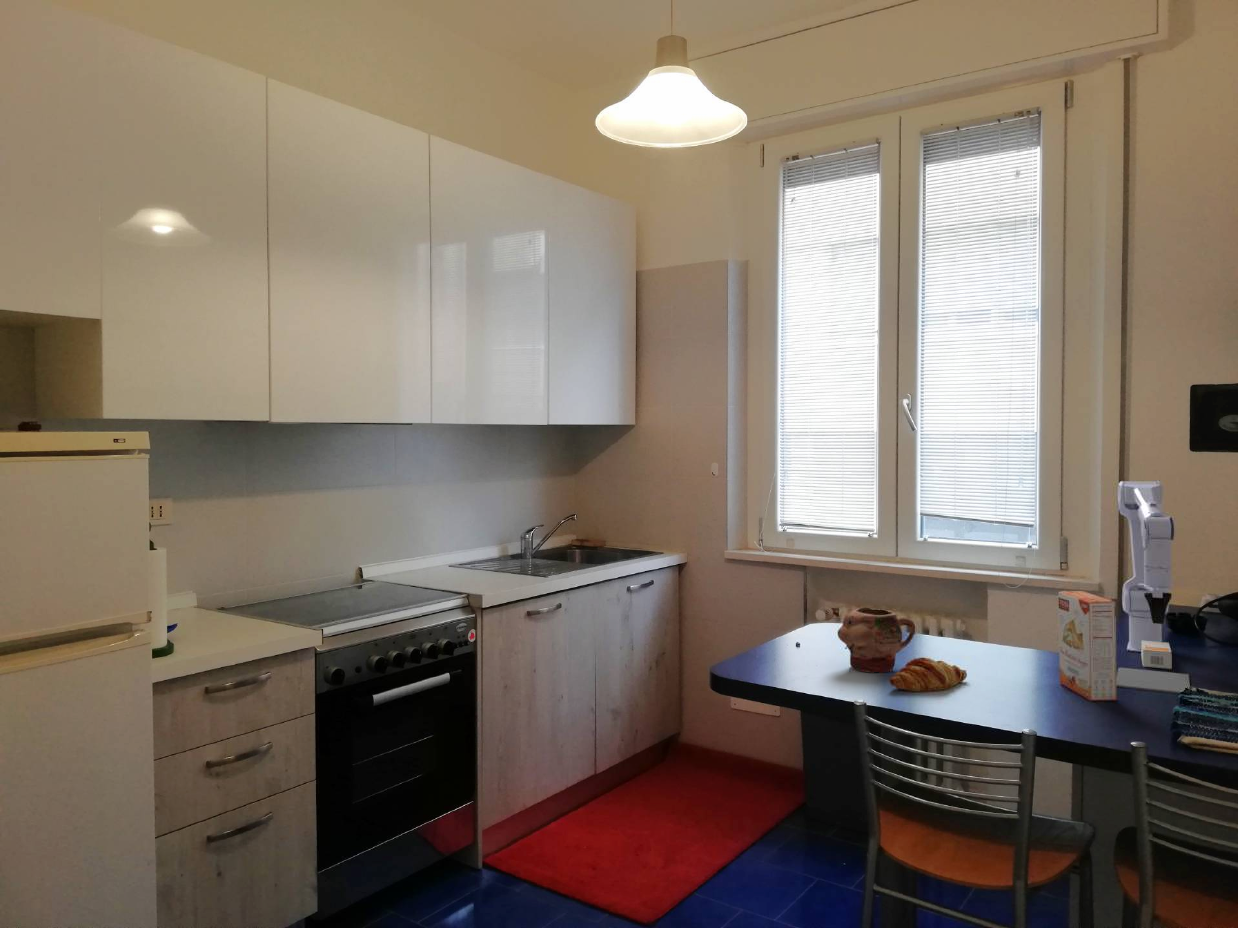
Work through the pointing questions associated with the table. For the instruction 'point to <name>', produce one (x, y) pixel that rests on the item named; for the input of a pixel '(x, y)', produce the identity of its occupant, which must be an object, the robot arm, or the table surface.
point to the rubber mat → (1152, 680)
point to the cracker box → (1087, 645)
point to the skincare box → (1156, 654)
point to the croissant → (927, 675)
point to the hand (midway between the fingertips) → (1157, 623)
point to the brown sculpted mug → (874, 638)
